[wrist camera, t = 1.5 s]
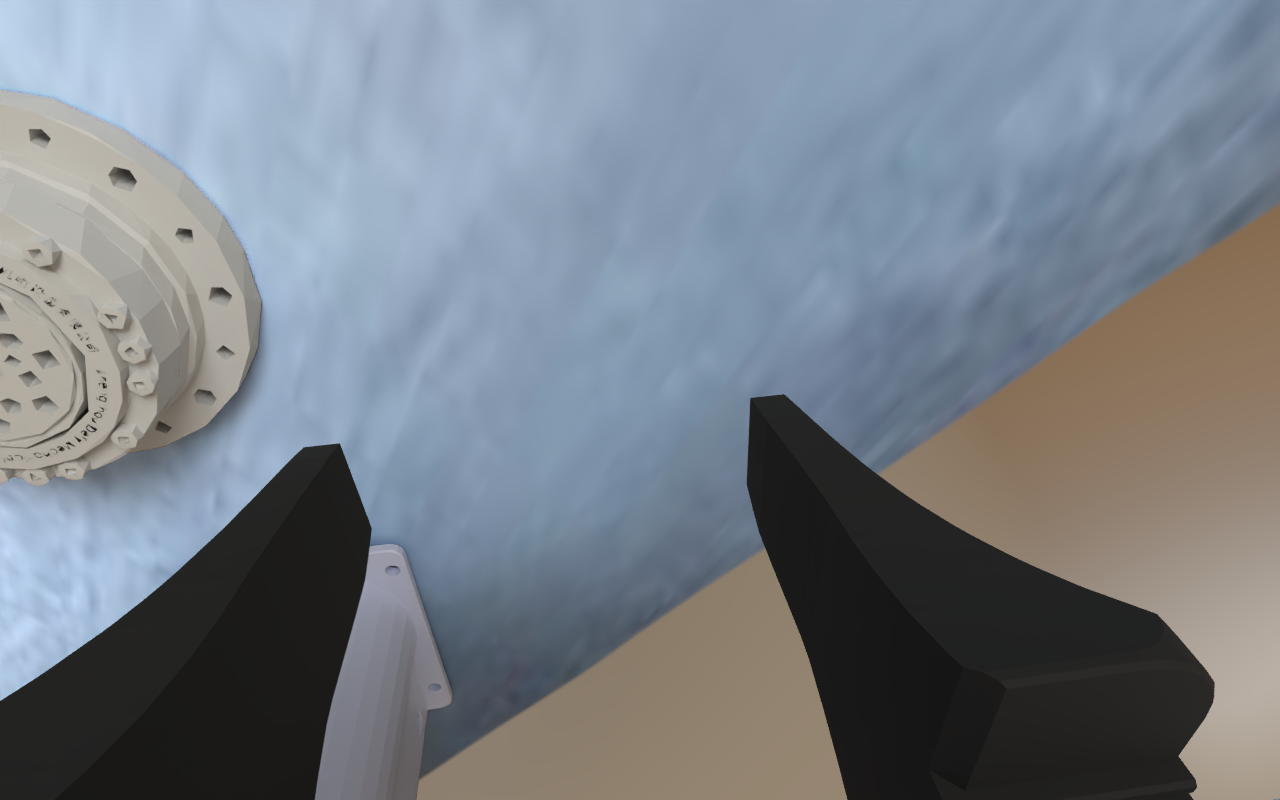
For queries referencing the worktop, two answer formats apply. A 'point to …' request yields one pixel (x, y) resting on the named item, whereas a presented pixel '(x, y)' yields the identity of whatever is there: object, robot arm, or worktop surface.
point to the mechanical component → (109, 296)
